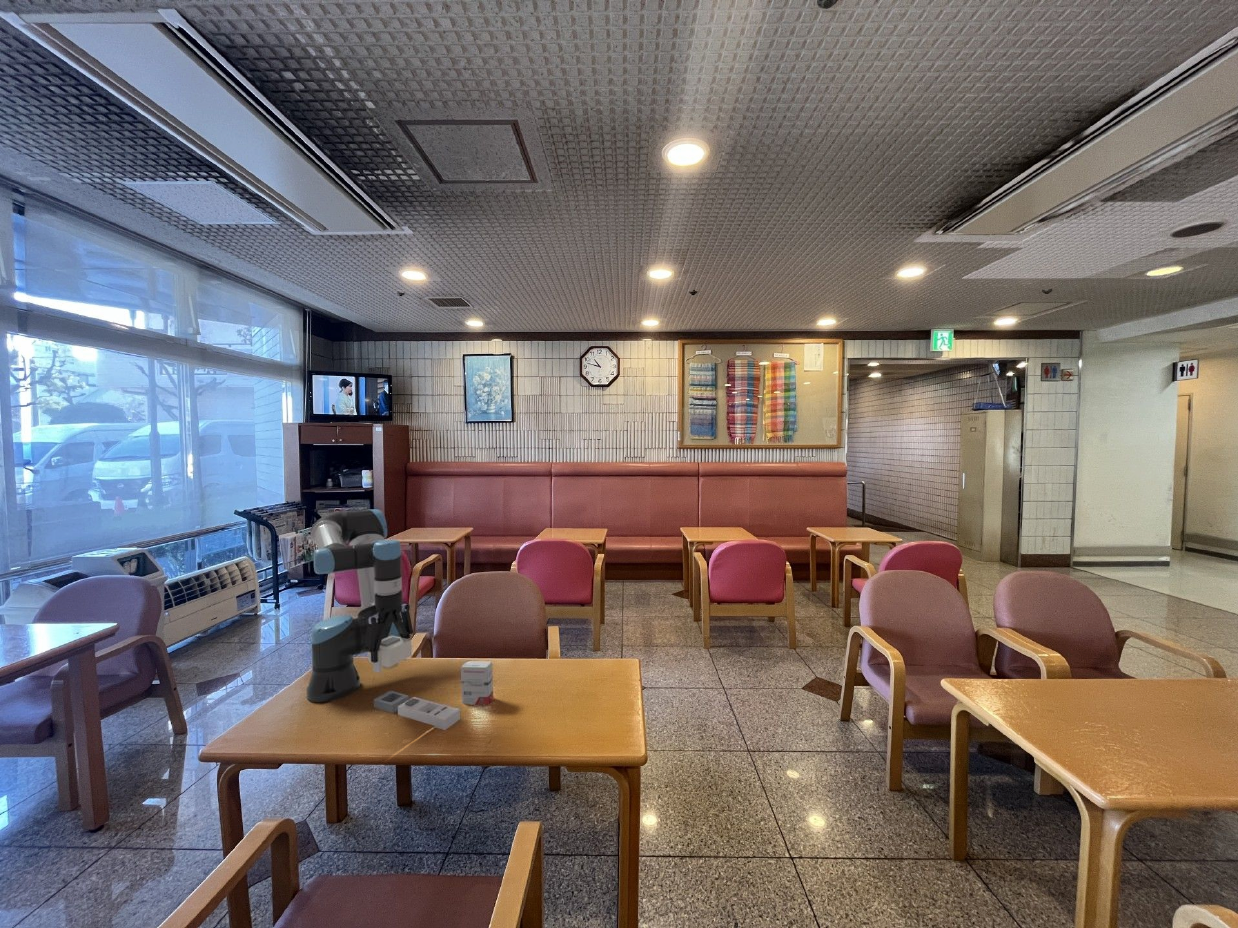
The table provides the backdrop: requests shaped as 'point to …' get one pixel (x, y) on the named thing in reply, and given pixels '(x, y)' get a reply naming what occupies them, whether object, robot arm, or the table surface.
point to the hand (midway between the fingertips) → (390, 665)
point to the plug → (393, 651)
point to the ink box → (477, 683)
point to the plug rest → (390, 701)
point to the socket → (437, 716)
